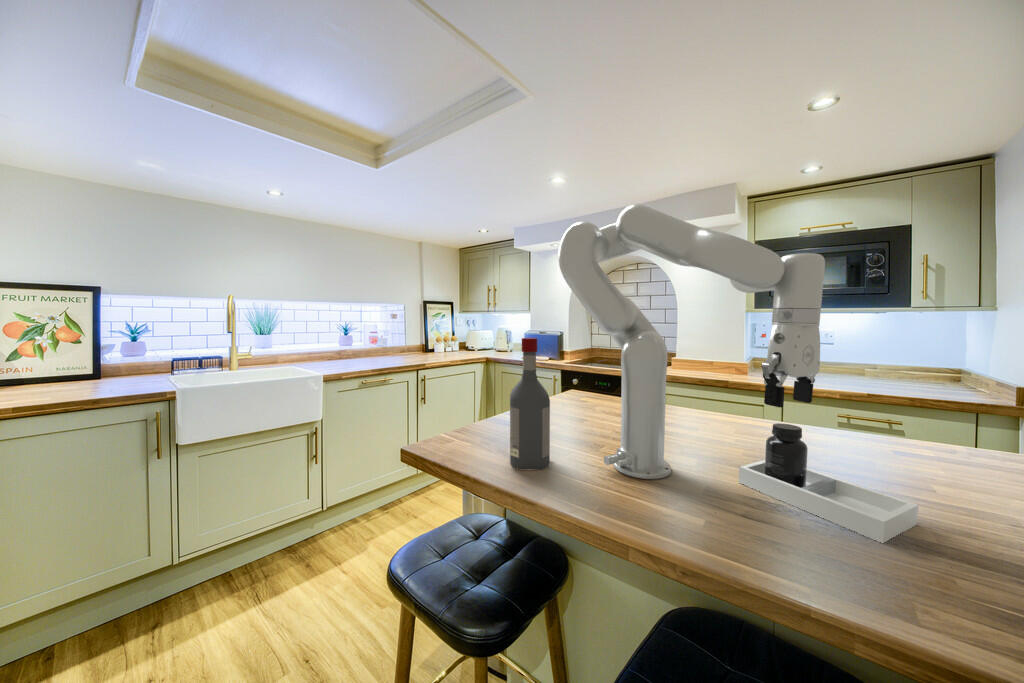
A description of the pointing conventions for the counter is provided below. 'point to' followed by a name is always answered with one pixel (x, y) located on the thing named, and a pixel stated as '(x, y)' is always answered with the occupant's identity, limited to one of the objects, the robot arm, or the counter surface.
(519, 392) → the liquor
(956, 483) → the counter surface
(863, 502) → the caddy
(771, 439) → the supplement bottle
